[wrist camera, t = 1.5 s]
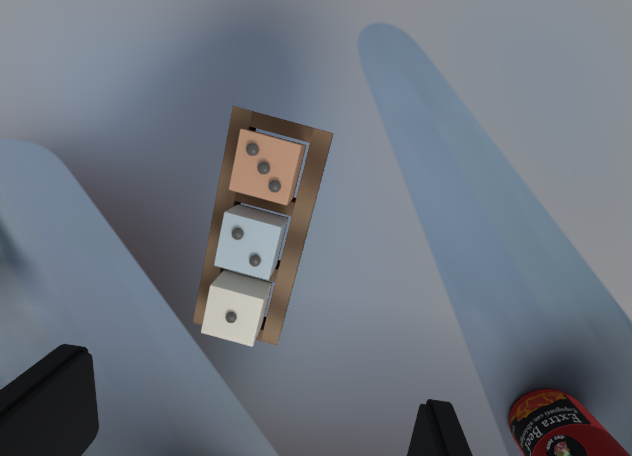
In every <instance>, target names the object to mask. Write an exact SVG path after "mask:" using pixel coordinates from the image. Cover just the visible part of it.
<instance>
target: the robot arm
mask: <svg viewBox="0 0 632 456" xmlns="http://www.w3.org/2000/svg"><path fill="white" fill-rule="evenodd" d="M98 429H99V422H98V412H97V401H96V391H95V381H94V370H93V360H92V355H91V354H90V353H88V349H87V348H86V347H81V346H75V345H68V344H63V345H60V346H59V347H57V348H56V349H55V350H53V351H52V352H51V353H49V354H48V355H47V356H45V357H44V358H43V359H41V360H40V361H39V362H37V363H36V364H35V365H33V366H32V367H31V368H29V369H28V370H27V371H25V372H24V373H23V374H21V375H20V376H19V377H17V378H16V379H15V380H13V381H12V382H11V383H9V384H8V385H7V386H5V387H4V388H3V389H1V390H0V456H81V455H82V454H83V453H84V452H85V450H86V449H87V448H88V447H89V445H90V444H91V443H92V442H93V440H94V439H95V437H96V435H97V432H98ZM407 456H472V453H471V451H470V448H469V446H468V443H467V441H466V438H465V436H464V433H463V431H462V428H461V426H460V423H459V421H458V418H457V416H456V413H455V411H454V408H453V406H452V404H451V403H450V402H445V401H438V400H432V399H428V400H427V402H426V404H420V407H419V410H418V414H417V418H416V422H415V426H414V430H413V434H412V438H411V442H410V446H409V450H408V454H407Z"/></svg>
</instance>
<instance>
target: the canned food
mask: <svg viewBox="0 0 632 456" xmlns="http://www.w3.org/2000/svg"><path fill="white" fill-rule="evenodd" d="M509 426H510V430H511V433H512V436H513V439H514V440H515V442H516V444H517V445H518V447H519V449H520V451H521V452H522V454H523V456H630V455H629V454H628V453H627V452H626V450H625V449H624V448H623V447H622V446H621V445H620V444H619V443H618V442H617V441H616V440H615V439H614V438H613V437H612V436H611V435H610V434H609V432H608V431H607V430H606V429H605V428H604V427H603V426H602V425H601V424H600V423H599V422H598V421H597V420H596V419H595V418H594V417H593V415H592V414H591V413H590V412H589V411H588V410H587V409H586V408H585V407H584V406H583V405H582V404H581V403H580V402H579V401H578V400H576V399H575V398H573V397H572V396H570V395H568V394H567V393H564V392H562V391H559V390H555V389H540V390H536V391H532V392H530V393H528V394H526V395H524V396H523V397H521V398H520V399H519V400H518V401H517V402H516V403H515V404H514V406H513V407H512V409H511V412H510V415H509Z"/></svg>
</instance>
